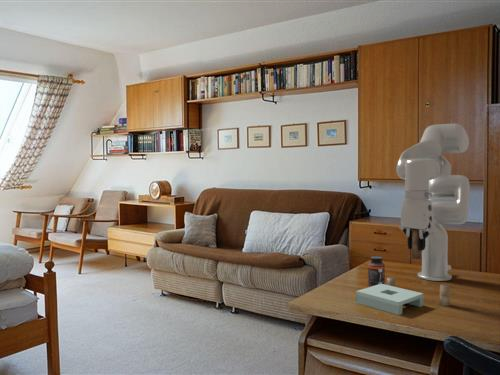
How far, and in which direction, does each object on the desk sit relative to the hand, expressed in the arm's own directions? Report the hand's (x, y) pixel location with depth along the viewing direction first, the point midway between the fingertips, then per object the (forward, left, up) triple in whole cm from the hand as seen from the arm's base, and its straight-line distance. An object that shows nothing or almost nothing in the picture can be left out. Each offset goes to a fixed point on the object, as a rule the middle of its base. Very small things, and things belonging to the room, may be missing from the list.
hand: (416, 248), depth 153 cm
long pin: (0, 0, -3) cm, 3 cm away
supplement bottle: (-1, -17, -17) cm, 24 cm away
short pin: (0, -10, -17) cm, 20 cm away
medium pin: (0, +10, -17) cm, 20 cm away
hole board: (+13, -2, -17) cm, 21 cm away
